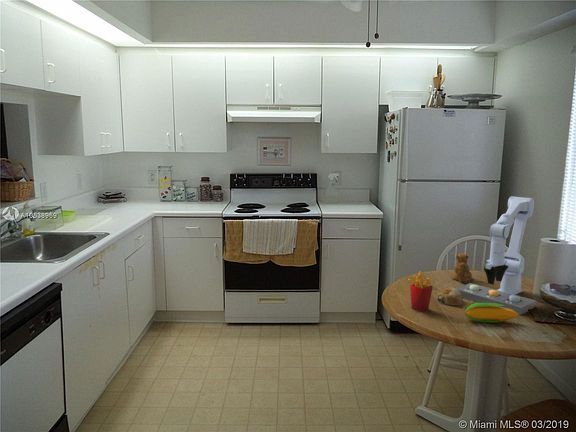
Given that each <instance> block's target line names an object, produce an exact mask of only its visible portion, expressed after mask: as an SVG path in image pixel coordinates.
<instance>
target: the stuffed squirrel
mask: <svg viewBox="0 0 576 432" xmlns="http://www.w3.org/2000/svg"><path fill="white" fill-rule="evenodd" d="M468 258H470V254H466V253H463V252H461V253H459V254H455V258H454V261H456V263H457V264H454V265H453V269H454V271H453V273H451V274H450V278H452V279H451V280H454V279H455V281H459V282H460V283H464V284H465V283H467V284H469V283H470V281H471V280H472V279H473V274H472V272H471V271H470V267H469V265H468Z"/></svg>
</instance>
